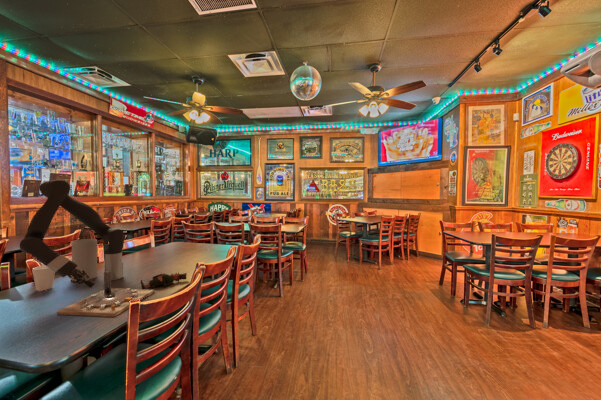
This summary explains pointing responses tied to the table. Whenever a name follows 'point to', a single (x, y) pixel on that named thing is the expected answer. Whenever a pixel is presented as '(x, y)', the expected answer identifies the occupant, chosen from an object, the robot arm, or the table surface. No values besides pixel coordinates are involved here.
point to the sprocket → (108, 295)
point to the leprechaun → (164, 280)
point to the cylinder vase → (85, 256)
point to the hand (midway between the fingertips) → (92, 285)
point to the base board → (108, 310)
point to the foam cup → (43, 277)
